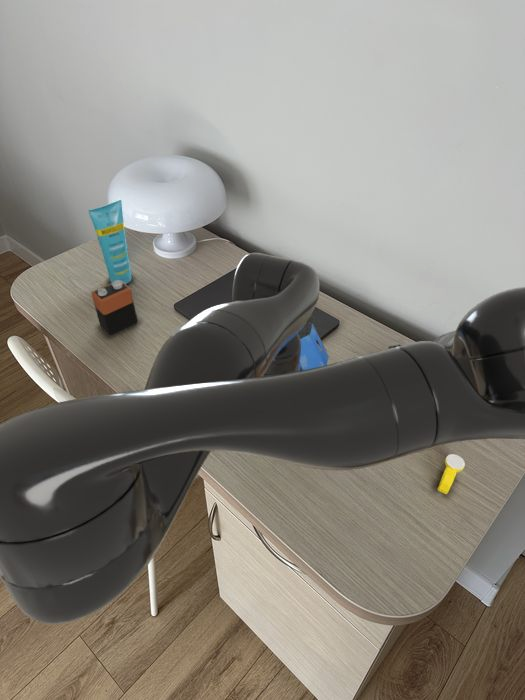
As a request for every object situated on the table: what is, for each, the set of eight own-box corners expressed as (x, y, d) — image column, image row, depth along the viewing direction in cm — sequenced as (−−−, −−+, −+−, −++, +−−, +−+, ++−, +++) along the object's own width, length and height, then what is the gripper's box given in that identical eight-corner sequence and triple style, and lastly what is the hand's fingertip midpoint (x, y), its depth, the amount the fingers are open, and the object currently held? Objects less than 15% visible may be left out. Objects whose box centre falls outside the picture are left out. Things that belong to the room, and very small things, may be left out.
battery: (138, 322, 104) (130, 284, 97) (110, 336, 101) (99, 298, 94) (128, 313, 107) (119, 275, 100) (99, 326, 103) (88, 287, 96)
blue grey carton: (287, 374, 94) (291, 325, 85) (307, 371, 94) (312, 322, 86) (301, 409, 87) (307, 360, 79) (322, 405, 88) (329, 356, 80)
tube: (113, 290, 112) (94, 214, 99) (102, 281, 115) (82, 205, 102) (140, 277, 116) (125, 202, 103) (129, 269, 119) (113, 194, 106)
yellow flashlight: (448, 502, 74) (459, 481, 70) (430, 494, 76) (440, 473, 71) (458, 473, 78) (469, 451, 74) (441, 465, 79) (451, 444, 75)
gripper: (390, 388, 52) (379, 383, 68) (533, 413, 49) (486, 402, 65) (402, 318, 52) (388, 330, 68) (546, 340, 49) (496, 347, 65)
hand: (436, 365), depth 66 cm, fingers open, 8 cm apart
